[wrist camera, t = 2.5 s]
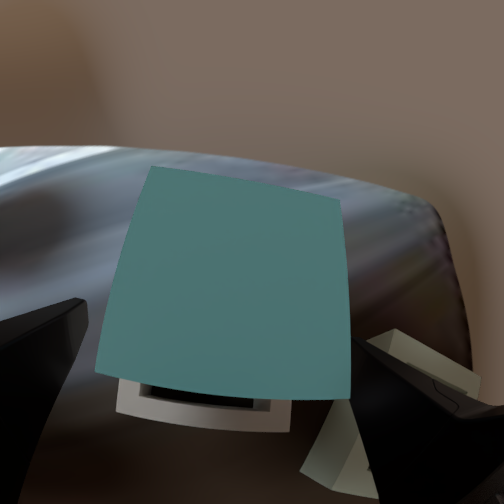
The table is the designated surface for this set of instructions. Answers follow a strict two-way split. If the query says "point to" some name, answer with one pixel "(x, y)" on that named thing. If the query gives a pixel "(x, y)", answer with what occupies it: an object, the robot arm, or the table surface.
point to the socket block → (345, 428)
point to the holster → (203, 411)
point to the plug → (230, 291)
